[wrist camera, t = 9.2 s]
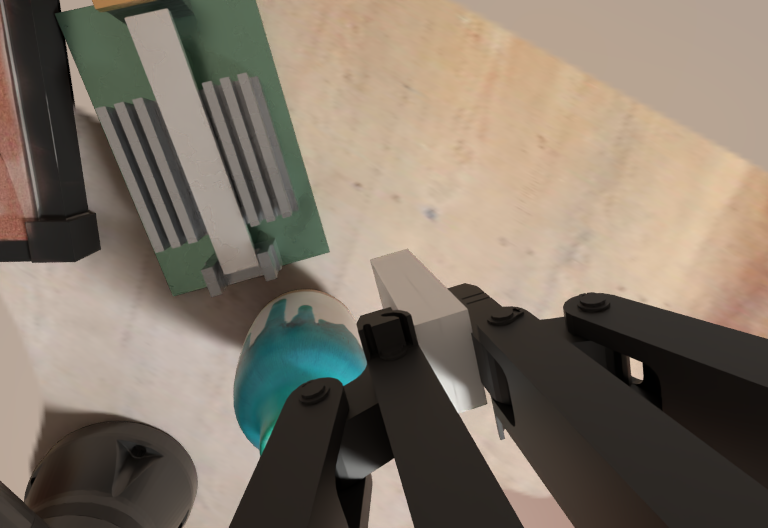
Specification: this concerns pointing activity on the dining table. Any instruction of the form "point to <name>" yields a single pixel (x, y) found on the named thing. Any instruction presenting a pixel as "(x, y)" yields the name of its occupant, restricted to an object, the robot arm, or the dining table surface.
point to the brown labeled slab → (39, 142)
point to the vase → (292, 356)
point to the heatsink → (230, 126)
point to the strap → (193, 137)
